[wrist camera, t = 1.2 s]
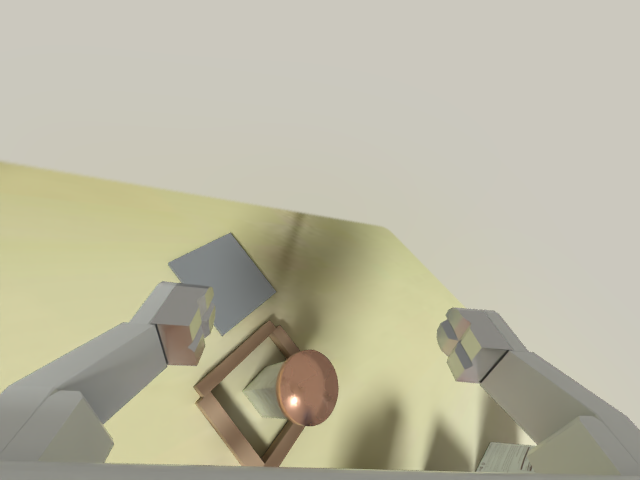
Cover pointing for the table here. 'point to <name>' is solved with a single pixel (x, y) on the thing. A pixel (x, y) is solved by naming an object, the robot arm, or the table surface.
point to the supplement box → (506, 458)
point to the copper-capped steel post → (296, 389)
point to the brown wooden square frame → (221, 418)
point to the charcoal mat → (225, 279)
